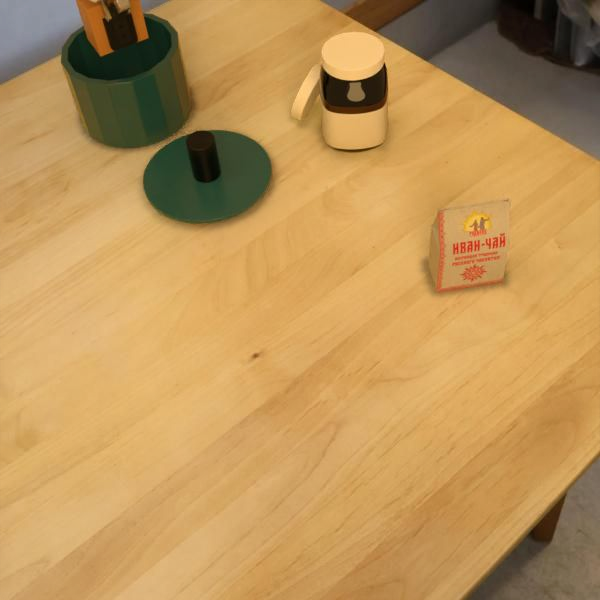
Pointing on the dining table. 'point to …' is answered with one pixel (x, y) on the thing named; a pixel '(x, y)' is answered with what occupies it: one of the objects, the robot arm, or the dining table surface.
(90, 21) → the orange seamed cube
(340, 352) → the dining table surface
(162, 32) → the pot
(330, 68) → the spread jar
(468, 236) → the tea bag
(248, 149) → the lid
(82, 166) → the dining table surface
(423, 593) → the dining table surface
